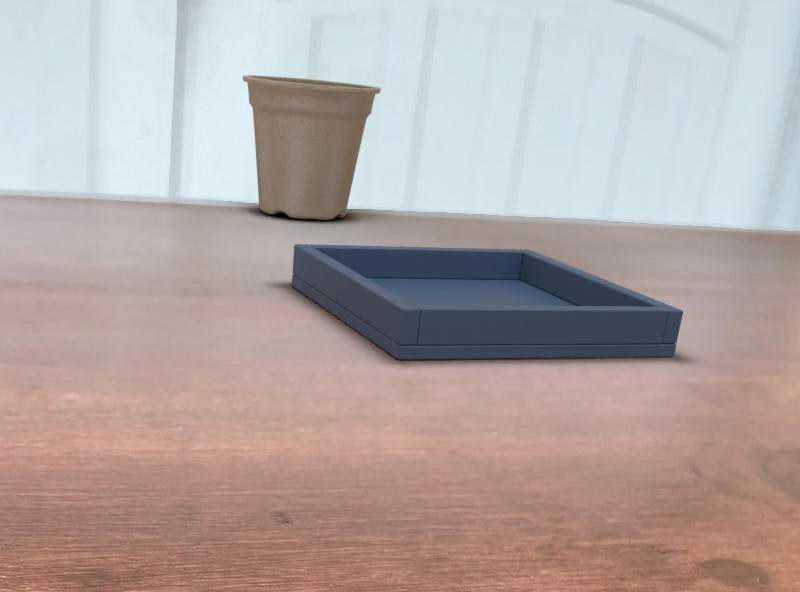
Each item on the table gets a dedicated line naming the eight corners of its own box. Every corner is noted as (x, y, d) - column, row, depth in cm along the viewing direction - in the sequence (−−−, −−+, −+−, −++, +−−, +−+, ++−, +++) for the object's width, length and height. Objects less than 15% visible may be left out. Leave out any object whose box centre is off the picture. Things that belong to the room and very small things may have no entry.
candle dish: (524, 288, 66) (529, 249, 65) (674, 357, 54) (684, 310, 53) (291, 285, 61) (293, 243, 60) (397, 360, 49) (403, 308, 48)
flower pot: (313, 202, 91) (322, 77, 87) (395, 223, 84) (409, 89, 80) (211, 205, 85) (215, 72, 81) (290, 227, 79) (299, 84, 75)
